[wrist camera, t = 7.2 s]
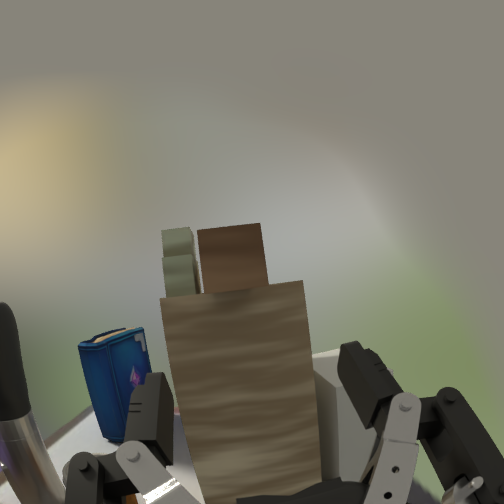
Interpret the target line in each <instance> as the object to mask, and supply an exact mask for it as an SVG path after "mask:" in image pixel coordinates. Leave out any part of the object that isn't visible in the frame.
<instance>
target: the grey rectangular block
mask: <svg viewBox="0 0 504 504" xmlns="http://www.w3.org/2000/svg"><path fill="white" fill-rule="evenodd" d="M339 352H340V348H339V349H335V350H331V351H327V352H322V353H317V354H313V355H312V361H313V371H314V381H315V391H316V403H317V415H318V428H319V442H320V458H321V477H322V482H323V481H326V480H330V479H333V478H336V477H341V479H342V481H355V482H359V481H360V478H361V476H362V474H363V472H364V470H365V467H366V465H367V462H368V459H369V456H370V453H371V449H372V446H373V443H374V440H375V436H376V431H375V429H374V427H372V428H370V429H367V430H366V429H365V427H364V426H363V424H362V422H361V420H360V418H359V416H358V414H357V412H356V410H355V408H354V406H353V404H352V402H351V400H350V398H349V396H348V395H347V393H346V391H345V389H344V387H343V385H342V383H341V381H340V379H339V377H338V373H337V364H338V358H339ZM387 370H389V371H390V373H391V374H392V376H393V370H392V369H389V368H387Z"/></svg>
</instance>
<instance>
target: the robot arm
mask: <svg viewBox="0 0 504 504" xmlns="http://www.w3.org/2000/svg"><path fill="white" fill-rule="evenodd" d="M337 373H338V377H339V379H340V381H341V383H342V385H343V387H344V389H345V391H346V393H347V395H348V396H349V398H350V400H351V402H352V404H353V406H354V408H355V410H356V412H357V414H358V416H359V418H360V420H361V422H362V424H363V426H364V427H365V429H366V430H367V429H370V428H372V427H374V429H375V431H376V436H375V440H374V443H373V446H372V449H371V453H370V456H369V459H368V462H367V465H366V467H365V470H364V472H363V474H362V476H361V478H360V481H359V482H355V481H342V479H341V477H336V478H333V479H330V480H326V481H323V482H319V483H316V484H314V485H312V486H310V487H308V488H306V489H304V490H302V491H300V492H297V493H295V494H293V495H258V496H251V497H244V498H236V502H237V503H236V504H410V503H407V502H406V501H407V498H408V494H409V491H410V487H411V483H412V479H413V475H414V470H415V465H416V461H417V455H418V450H419V445H418V444H416V440H420V442H421V444H422V446H423V448H424V450H425V452H426V454H427V455H428V458H429V459H430V462H431V463H432V465H433V467H434V469H435V471H436V473H437V475H438V478H439V480H440V482H441V484H442V486H443V488H444V490H445V493H444V495H443V497H442V504H504V458H503V456H502V455H501V453H500V452H499V450H498V448H497V447H496V445H495V443H494V442H493V440H492V439H491V437H490V435H489V434H488V432H487V431H486V429H485V428H484V426H483V425H482V423H481V422H480V420H479V419H478V417H477V416H476V414H475V413H474V411H473V410H472V408H471V407H470V406H469V404H468V403H467V401H466V400H465V399H464V397H463V396H462V394H461V393H460V392H459V391H458V390H457V389H455V388H452V387H445V388H443V389H441V390H439V392H438V393H437V395H436V396H434V397H426V398H418V397H417V396H416V395H413V394H412V393H407V392H403V390H402V389H401V387H400V386H399V385H398V383H397V382H396V380H395V379H394V377H393V376H392V374H391V373H390V371H389V370H387V367H386V366H385V364H384V363H383V362H382V360H381V359H380V357H379V356H378V354H376V353H374V352H373V351H372V350H370V349H369V348H368V349H365V350H364V349H363V348H362V346H361V344H360V343H359V342H358V341H353V342H349V343H345V344H342V345H341V347H340V352H339V358H338V364H337ZM128 411H129V413H128V417H127V423H126V430H125V437H124V442H123V444H121V445H120V446H119V448H118V449H117V451H115V452H113V453H111V454H107V455H103V456H98V457H95V456H94V455H93V454H91V453H88V452H80V453H77V454H75V455H74V456H73V457H72V458H71V460H70V462H69V468H68V476H67V484H66V490H65V488H64V486H63V484H62V482H61V480H60V478H59V476H58V474H57V472H56V470H55V468H54V466H53V463H52V461H51V459H50V457H49V454H48V452H47V450H46V447H45V445H44V442H43V440H42V437H41V434H40V432H39V429H38V426H37V423H36V420H35V418H34V414H33V411H32V409H31V405H30V402H29V397H28V389H27V383H26V378H25V374H24V369H23V363H22V357H21V351H20V342H19V335H18V329H17V325H16V321H15V317H14V315H13V312H12V310H11V309H10V307H9V306H8V305H7V304H6V303H4V302H0V464H1V468H2V470H3V472H4V474H5V476H6V478H7V480H8V482H9V484H10V485H11V487H12V489H13V491H14V492H15V494H16V496H17V498H18V499H19V501H20V502H21V504H126V496H127V495H131V494H136V493H141V494H142V495H143V497H144V498H145V501H146V502H147V504H200V503H199V502H198V501H197V500H196V499H195V498H194V497H193V496H192V495H191V494H190V493H189V492H188V491H187V490H186V489H185V488H184V487H183V486H182V485H181V484H180V483H179V482H178V481H177V480H175V479H174V478H173V477H172V476H171V474H170V473H169V472H168V471H167V470H166V466H171V465H173V421H174V400H173V395H172V392H171V390H170V387H169V385H168V382H167V380H166V377H165V374H164V373H163V372H157V373H147V374H146V378H145V384H144V385H137V386H136V387H135V389H134V390H133V392H132V393H131V399H130V405H129V410H128Z"/></svg>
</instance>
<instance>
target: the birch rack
mask: <svg viewBox="0 0 504 504" xmlns="http://www.w3.org/2000/svg"><path fill="white" fill-rule="evenodd" d="M162 242H163V243H162V244H163V254H164V258H162V262H163V272H164V281H165V290H166V298H160V306H161V312H162V320H163V326H164V333H165V340H166V345H167V351H168V357H169V363H170V368H171V374H172V378H173V383H174V388H175V393H176V398H177V403H178V407H179V411H180V416H181V420H182V424H183V428H184V432H185V436H186V440H187V444H188V448H189V451H190V455H191V458H192V462H193V465H194V469H195V472H196V475H197V479H198V482H199V485H200V488H201V491H202V495H203V498H204V501H205V503H206V504H236V503H237V502H236V498H244V497H251V496H258V495H293V494H295V493H297V492H300V491H302V490H304V489H306V488H308V487H310V486H312V485H314V484H316V483H319V482H322V477H321V458H320V442H319V428H318V415H317V403H316V391H315V381H314V371H313V361H312V351H311V343H310V334H309V326H308V317H307V310H306V301H305V294H304V286H303V280H300V281H293V282H285V283H277V284H269V286H265V287H257V288H250V289H242V290H235V291H227V292H219V293H211V294H204V293H201V286H200V277H199V269H198V262H197V261H196V254H195V244H194V235H193V233H192V231H191V229H190V227H184V228H176V229H169V230H162Z"/></svg>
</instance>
